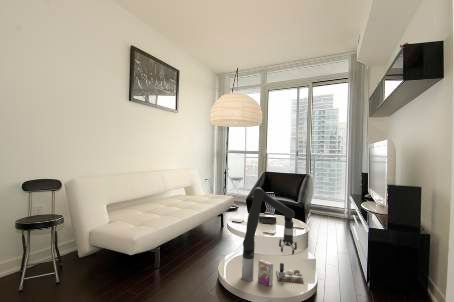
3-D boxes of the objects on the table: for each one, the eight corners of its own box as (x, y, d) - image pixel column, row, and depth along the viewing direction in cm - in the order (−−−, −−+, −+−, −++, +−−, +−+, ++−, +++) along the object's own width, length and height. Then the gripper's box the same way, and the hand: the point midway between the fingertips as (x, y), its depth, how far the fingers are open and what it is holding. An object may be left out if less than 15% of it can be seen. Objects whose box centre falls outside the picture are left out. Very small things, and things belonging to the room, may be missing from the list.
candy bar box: (257, 281, 189) (258, 260, 190) (261, 279, 192) (262, 259, 194) (269, 287, 181) (269, 265, 182) (272, 285, 184) (273, 263, 186)
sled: (278, 278, 193) (279, 264, 193) (277, 271, 204) (277, 259, 205) (285, 278, 192) (285, 264, 193) (283, 272, 204) (283, 259, 204)
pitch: (278, 281, 192) (278, 275, 192) (276, 272, 207) (276, 267, 208) (303, 283, 190) (303, 277, 190) (299, 274, 205) (299, 269, 206)
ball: (288, 275, 199) (288, 270, 199) (287, 273, 203) (287, 268, 203) (293, 276, 198) (293, 271, 199) (292, 274, 202) (292, 269, 203)
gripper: (278, 232, 195) (277, 252, 194) (296, 236, 189) (295, 256, 188) (280, 230, 202) (279, 250, 201) (297, 233, 196) (296, 253, 195)
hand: (287, 253), depth 195 cm, fingers open, 8 cm apart
